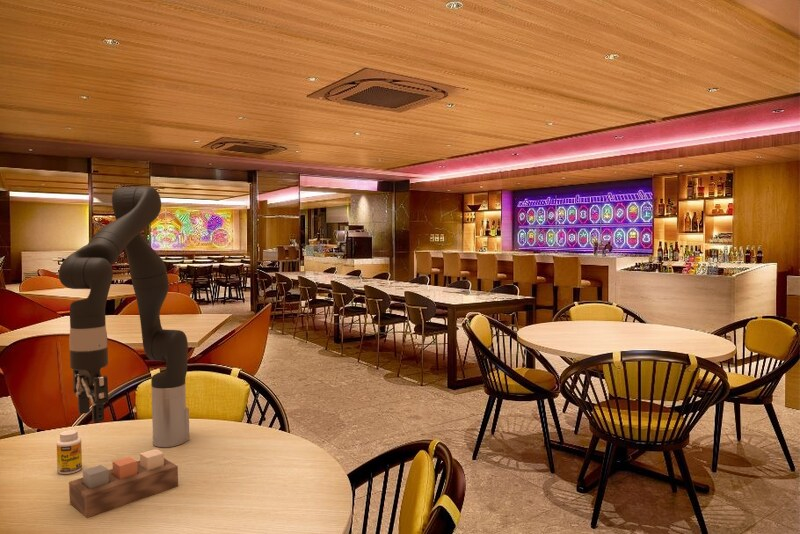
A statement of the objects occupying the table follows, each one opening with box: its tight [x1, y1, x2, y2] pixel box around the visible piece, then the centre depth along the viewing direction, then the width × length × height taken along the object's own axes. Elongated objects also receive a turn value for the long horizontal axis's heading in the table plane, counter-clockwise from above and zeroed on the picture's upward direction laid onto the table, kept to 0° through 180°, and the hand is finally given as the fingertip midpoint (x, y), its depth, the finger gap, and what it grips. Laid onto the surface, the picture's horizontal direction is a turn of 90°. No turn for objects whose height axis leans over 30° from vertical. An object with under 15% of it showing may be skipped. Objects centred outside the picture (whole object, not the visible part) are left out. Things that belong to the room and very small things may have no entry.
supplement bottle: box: [56, 429, 83, 475], centre depth 150 cm, size 6×6×10 cm
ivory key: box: [139, 448, 165, 471], centre depth 142 cm, size 4×4×4 cm
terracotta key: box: [112, 456, 138, 480], centre depth 137 cm, size 4×4×4 cm
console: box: [68, 458, 179, 518], centre depth 138 cm, size 21×10×5 cm, turn 138°
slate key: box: [82, 464, 109, 489], centre depth 133 cm, size 4×4×4 cm
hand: (91, 417), depth 132 cm, fingers open, 8 cm apart
